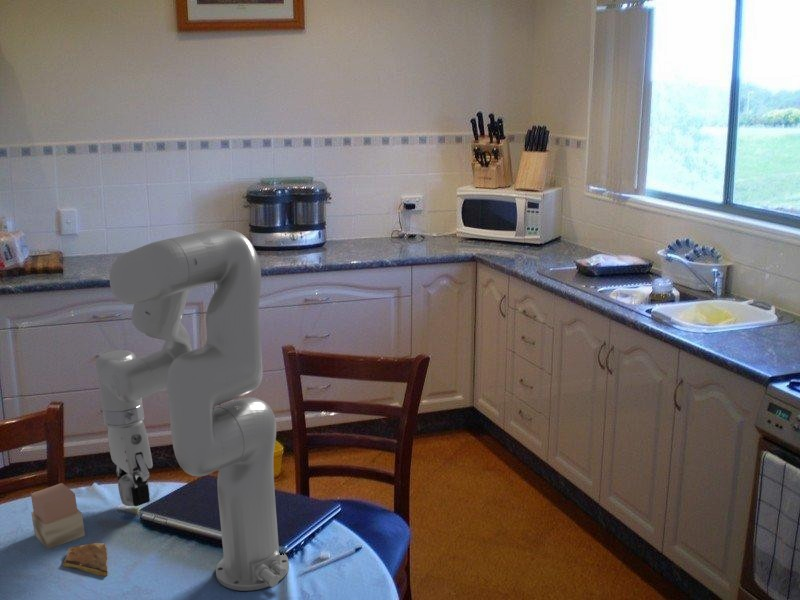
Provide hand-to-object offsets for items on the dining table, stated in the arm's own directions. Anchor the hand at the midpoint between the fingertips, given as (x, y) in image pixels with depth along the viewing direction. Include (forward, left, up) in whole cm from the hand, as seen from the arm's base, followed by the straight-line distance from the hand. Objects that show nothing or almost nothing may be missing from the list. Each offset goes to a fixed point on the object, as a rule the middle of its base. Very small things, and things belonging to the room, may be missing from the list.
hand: (134, 497), depth 174 cm
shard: (-13, +13, -3) cm, 18 cm away
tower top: (+1, +15, +2) cm, 15 cm away
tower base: (+1, +15, -3) cm, 15 cm away
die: (0, 0, -1) cm, 1 cm away
